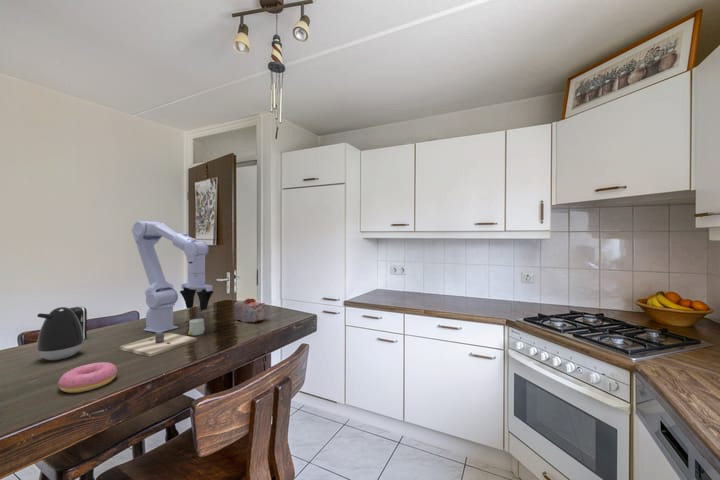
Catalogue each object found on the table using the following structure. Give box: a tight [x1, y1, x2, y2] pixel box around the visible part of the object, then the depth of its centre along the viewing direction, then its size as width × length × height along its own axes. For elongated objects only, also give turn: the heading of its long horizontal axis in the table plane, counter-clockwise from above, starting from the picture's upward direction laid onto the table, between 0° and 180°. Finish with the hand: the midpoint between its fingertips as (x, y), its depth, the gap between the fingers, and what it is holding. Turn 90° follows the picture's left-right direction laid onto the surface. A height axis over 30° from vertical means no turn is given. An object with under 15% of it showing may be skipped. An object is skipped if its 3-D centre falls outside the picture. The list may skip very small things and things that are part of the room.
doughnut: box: [57, 361, 119, 394], centre depth 75 cm, size 11×11×4 cm
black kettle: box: [36, 306, 85, 361], centre depth 92 cm, size 10×10×15 cm
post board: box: [118, 331, 198, 358], centre depth 103 cm, size 16×16×4 cm
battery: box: [69, 306, 88, 340], centre depth 109 cm, size 7×4×11 cm, turn 61°
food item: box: [233, 298, 266, 324], centre depth 134 cm, size 14×8×10 cm, turn 66°
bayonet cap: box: [187, 318, 206, 336], centre depth 115 cm, size 5×6×5 cm
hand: (196, 308), depth 115 cm, fingers open, 7 cm apart
